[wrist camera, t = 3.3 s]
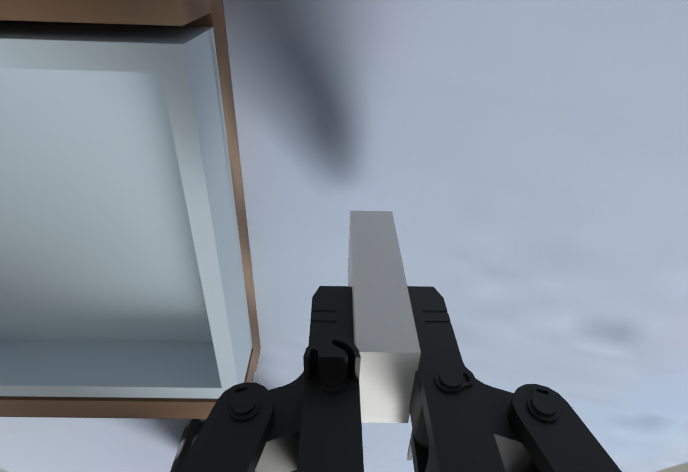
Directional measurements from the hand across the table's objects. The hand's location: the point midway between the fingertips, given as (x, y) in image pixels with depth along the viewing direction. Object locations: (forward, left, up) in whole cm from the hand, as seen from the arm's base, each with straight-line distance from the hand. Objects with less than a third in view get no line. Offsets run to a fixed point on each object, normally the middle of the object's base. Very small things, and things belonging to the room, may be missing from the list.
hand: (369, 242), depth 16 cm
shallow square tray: (0, -12, -1) cm, 12 cm away
